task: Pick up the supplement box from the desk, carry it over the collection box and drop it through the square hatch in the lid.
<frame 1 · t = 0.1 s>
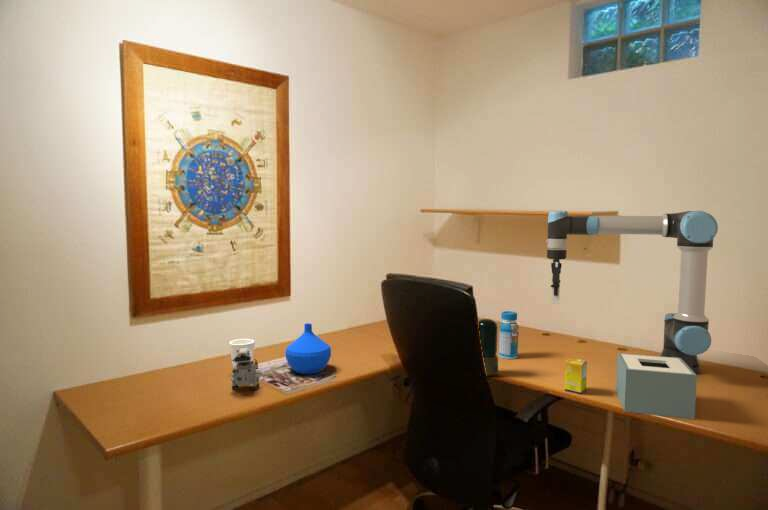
hand: (555, 300, 209), 28 cm above the table, fingers open, 13 cm apart
figurine: (244, 390, 184), on the table
foam cup: (242, 374, 203), on the table
collection box: (652, 404, 172), on the table
supplement box: (575, 391, 184), on the table
vase: (308, 371, 207), on the table
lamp: (485, 374, 204), on the table
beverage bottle: (508, 357, 227), on the table
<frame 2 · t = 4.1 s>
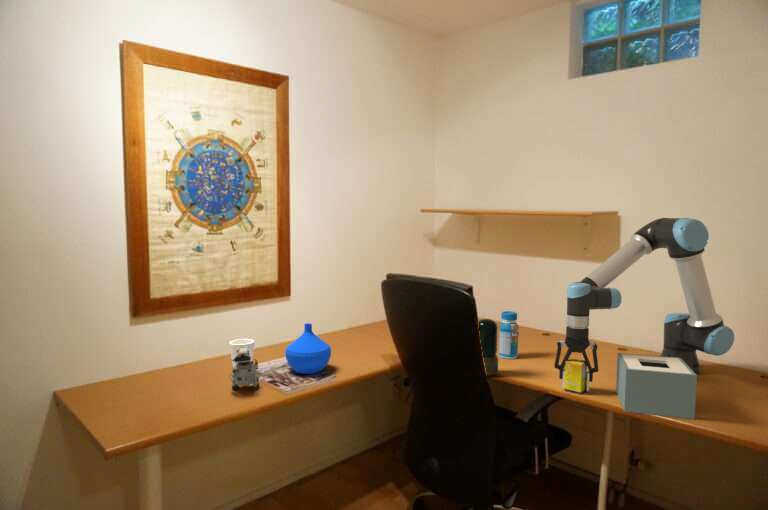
hand: (575, 388, 184), 1 cm above the table, fingers closed on supplement box, 7 cm apart
supplement box: (575, 391, 184), on the table, touching gripper
everything else where it was.
when the fingers open (16 cm above the table, at t = 9.5 s): supplement box drops 14 cm, resting on collection box.
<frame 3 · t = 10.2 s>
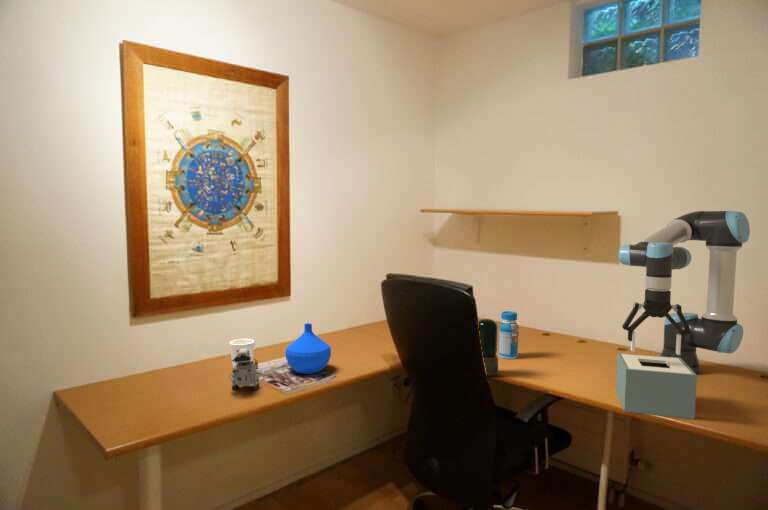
hand: (654, 352, 170), 18 cm above the table, fingers open, 13 cm apart
supplement box: (653, 402, 171), point 1 cm above the table, touching collection box
everything else where it was.
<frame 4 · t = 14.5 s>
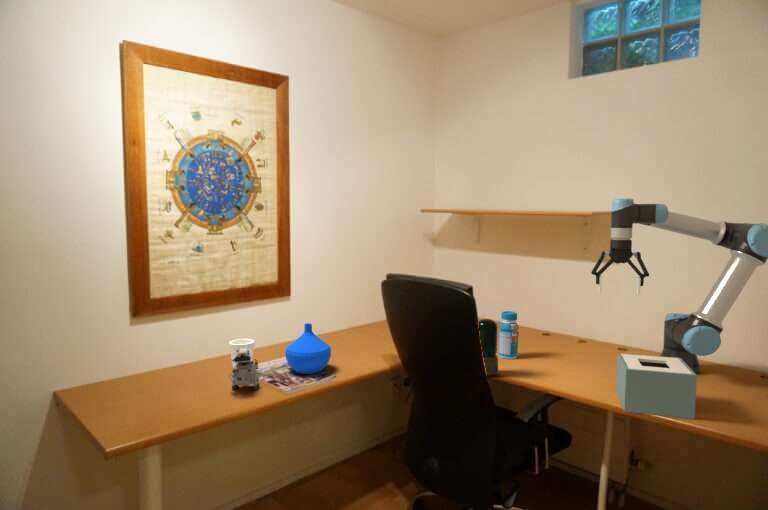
hand: (618, 293, 198), 33 cm above the table, fingers open, 13 cm apart
nothing on the table moved.
at the end: supplement box inside the target area on the collection box (0.4 cm from its centre), point 0.8 cm above the collection box's base; the gripper is holding nothing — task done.
